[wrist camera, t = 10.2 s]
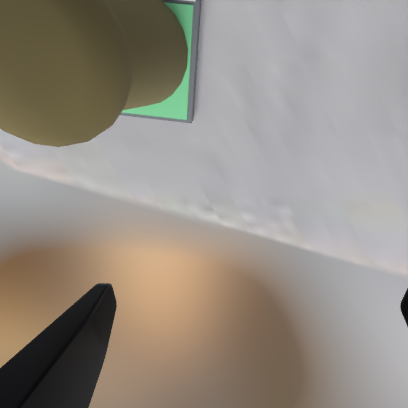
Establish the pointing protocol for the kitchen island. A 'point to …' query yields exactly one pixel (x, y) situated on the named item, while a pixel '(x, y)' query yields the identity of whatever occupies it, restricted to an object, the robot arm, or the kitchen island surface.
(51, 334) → the robot arm
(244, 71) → the kitchen island surface
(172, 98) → the plate
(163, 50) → the cork
